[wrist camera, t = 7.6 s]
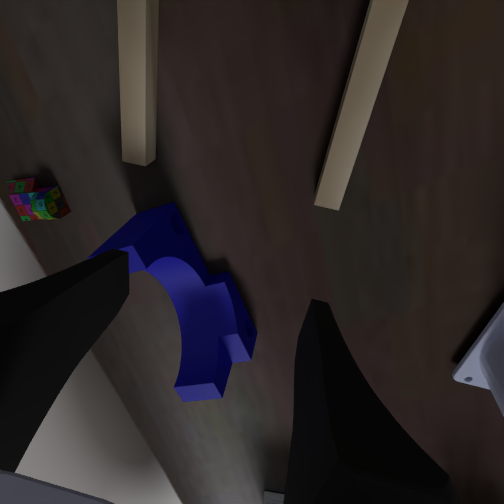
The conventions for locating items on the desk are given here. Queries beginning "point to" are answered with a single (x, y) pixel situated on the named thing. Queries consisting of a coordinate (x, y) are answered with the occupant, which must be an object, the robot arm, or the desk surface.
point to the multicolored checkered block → (37, 200)
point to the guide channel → (349, 115)
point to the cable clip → (190, 300)
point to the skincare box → (273, 498)
